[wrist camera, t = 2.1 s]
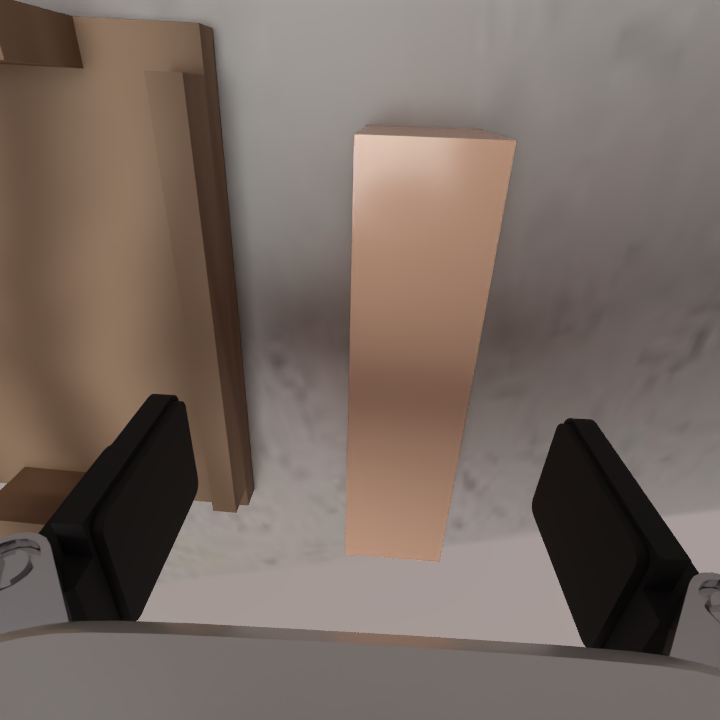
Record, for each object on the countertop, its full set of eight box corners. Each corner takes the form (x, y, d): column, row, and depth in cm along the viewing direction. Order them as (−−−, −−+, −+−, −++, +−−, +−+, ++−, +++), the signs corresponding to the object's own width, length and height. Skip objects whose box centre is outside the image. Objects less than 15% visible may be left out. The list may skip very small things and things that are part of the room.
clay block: (479, 128, 14) (516, 140, 10) (430, 467, 21) (439, 561, 17) (367, 124, 14) (354, 134, 10) (355, 461, 21) (345, 554, 17)
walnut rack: (211, 28, 13) (144, 1, 10) (254, 489, 22) (227, 561, 19) (-248, 3, 14) (-469, -30, 10) (-22, 464, 23) (-97, 529, 19)
